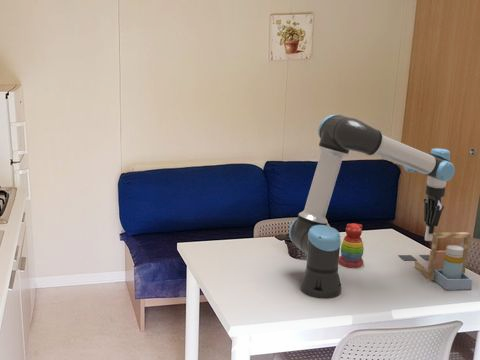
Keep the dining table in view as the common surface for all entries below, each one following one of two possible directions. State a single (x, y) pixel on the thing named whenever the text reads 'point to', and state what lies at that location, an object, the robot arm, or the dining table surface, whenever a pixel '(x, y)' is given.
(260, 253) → the dining table surface
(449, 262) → the bottle
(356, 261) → the stacking bear
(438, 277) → the tray
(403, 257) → the pit pads
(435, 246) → the wooden frame rack
